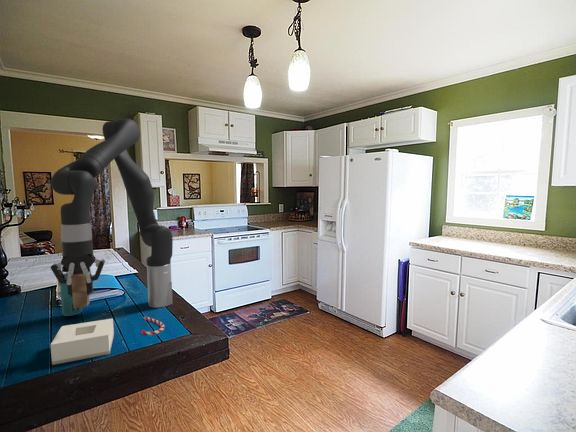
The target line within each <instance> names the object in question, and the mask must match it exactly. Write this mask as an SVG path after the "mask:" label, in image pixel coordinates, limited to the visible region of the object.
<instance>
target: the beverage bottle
mask: <svg viewBox="0 0 576 432" xmlns="http://www.w3.org/2000/svg"><path fill="white" fill-rule="evenodd" d="M61 271H62V272H63V274H64V276H65V278H68V270H67V269H66V268H65V267H64V266H63V265H62V269H61ZM59 288H60V303H61V304H60V305H61V313H62V316H63V317H69V316H70V317H71V316H75V315H78V314H80V313H81V312H82V311H83V307H78V308H73V297H71V295H69V294H68V286H67V284H64V283H63V284H60V283H59Z"/></svg>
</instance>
